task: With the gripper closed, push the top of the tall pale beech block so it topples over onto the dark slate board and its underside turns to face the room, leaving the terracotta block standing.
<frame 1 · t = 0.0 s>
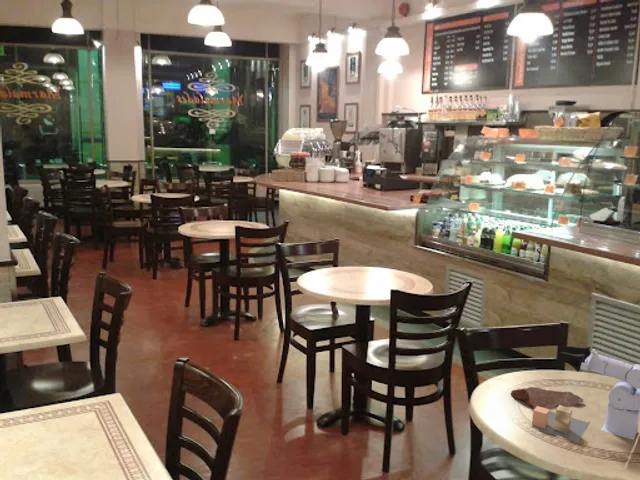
hand: (563, 352, 205), 22 cm above the table, tool horizontal, fingers open, 7 cm apart
terracotta block: (539, 424, 200), point 1 cm above the table, touching slate board
slate board: (560, 426, 200), on the table
beech block: (561, 429, 197), point 1 cm above the table, touching slate board
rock: (546, 402, 219), on the table
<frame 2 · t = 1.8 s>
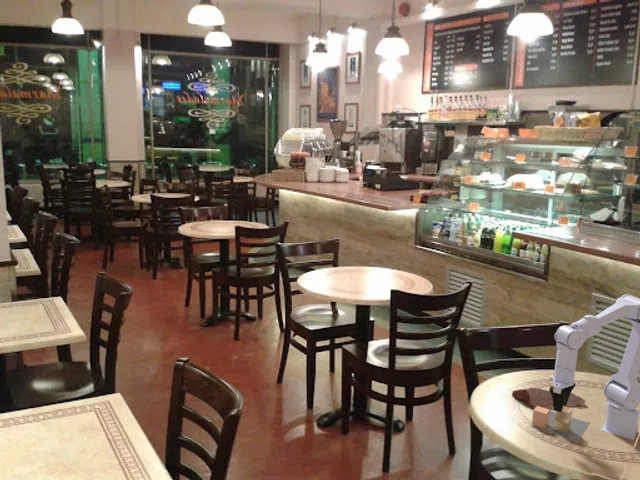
hand: (560, 407, 190), 10 cm above the table, tool pointing down, fingers open, 5 cm apart
nothing on the table moved.
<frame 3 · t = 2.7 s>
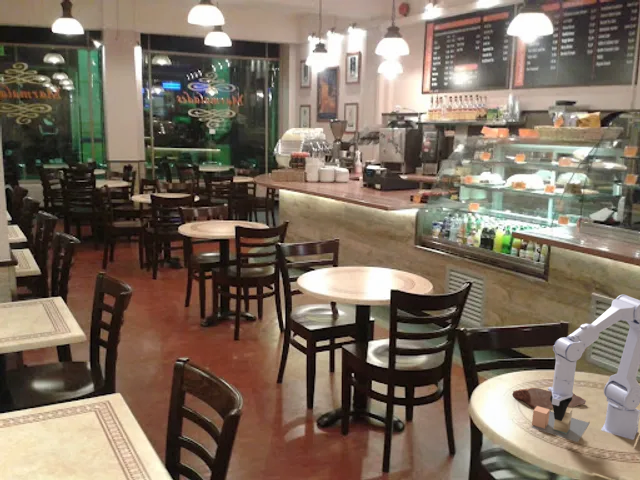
hand: (558, 419, 190), 7 cm above the table, tool pointing down, fingers closed
nothing on the table moved.
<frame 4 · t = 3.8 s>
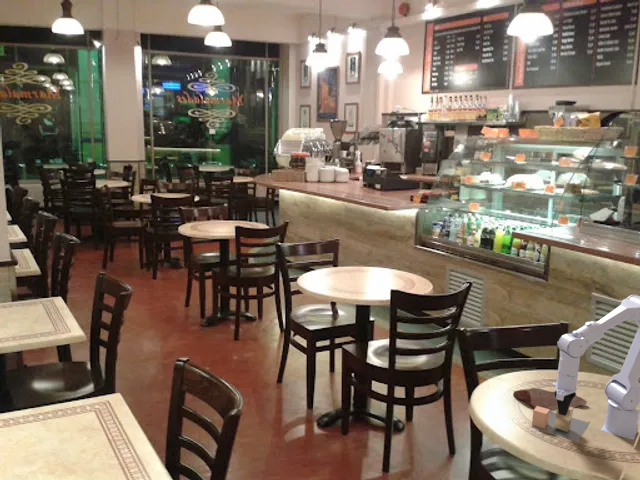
hand: (562, 414, 194), 7 cm above the table, tool pointing down, fingers closed
beech block: (561, 428, 197), point 1 cm above the table, tilted 10°, touching slate board
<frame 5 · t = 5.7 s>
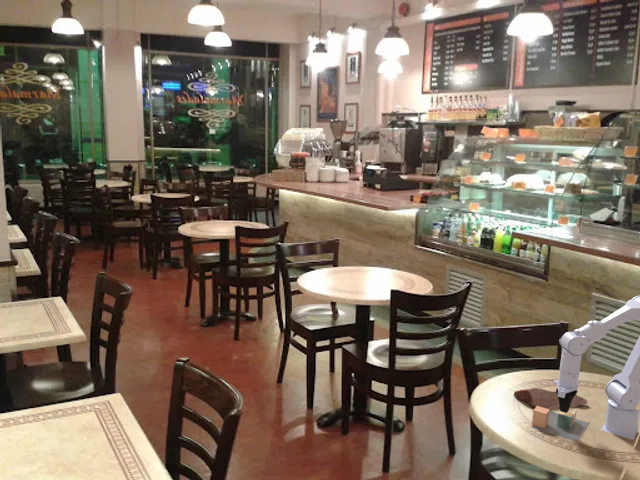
hand: (564, 411, 196), 7 cm above the table, tool pointing down, fingers closed
beech block: (564, 421, 198), point 3 cm above the table, tilted 90°, touching slate board
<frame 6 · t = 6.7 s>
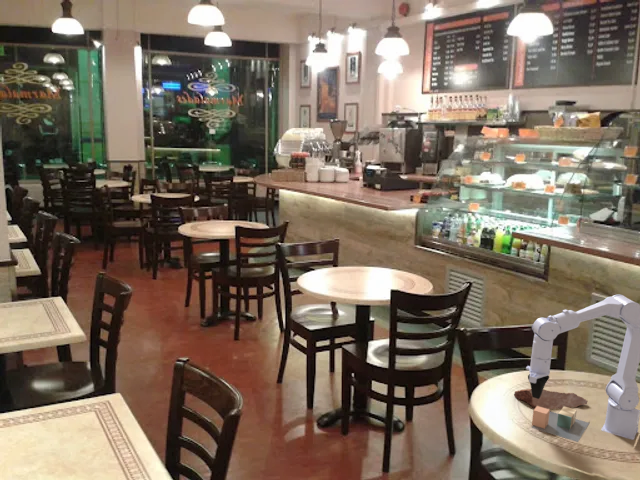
hand: (536, 397, 196), 10 cm above the table, tool pointing down, fingers closed
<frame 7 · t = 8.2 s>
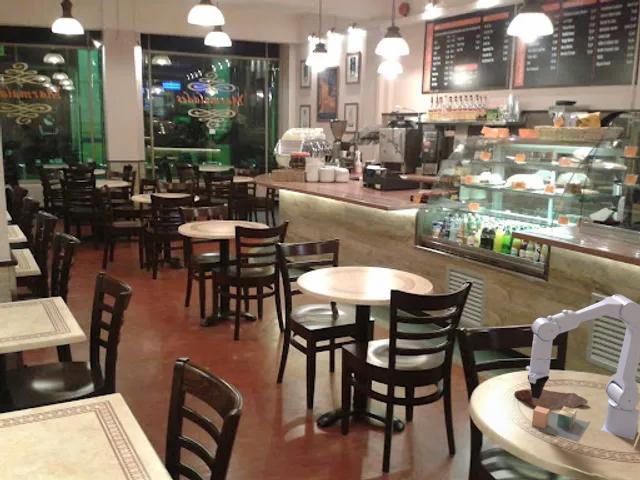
hand: (535, 397, 196), 10 cm above the table, tool pointing down, fingers closed
at the end: beech block tilted 90°; beech block inside the target area (1.8 cm from its centre), point 2.6 cm above the table; terracotta block tilted 0° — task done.
